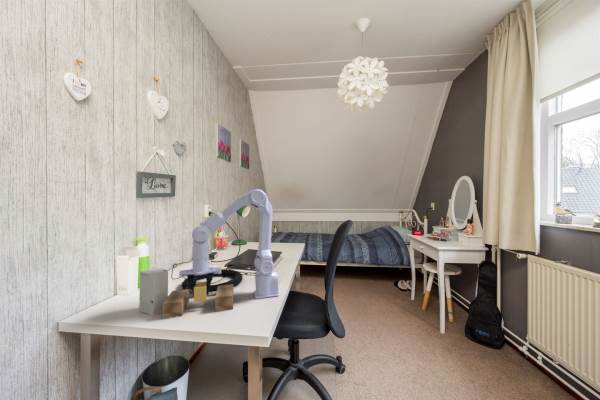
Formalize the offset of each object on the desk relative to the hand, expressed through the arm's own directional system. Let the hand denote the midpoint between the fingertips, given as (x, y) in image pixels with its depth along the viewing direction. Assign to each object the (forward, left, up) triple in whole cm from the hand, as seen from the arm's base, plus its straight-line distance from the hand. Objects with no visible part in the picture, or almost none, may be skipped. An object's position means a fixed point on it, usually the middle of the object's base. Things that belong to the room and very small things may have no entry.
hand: (201, 294), depth 89 cm
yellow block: (0, 0, -2) cm, 2 cm away
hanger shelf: (0, 0, -5) cm, 5 cm away
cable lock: (-1, -24, -5) cm, 25 cm away
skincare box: (+16, -2, -5) cm, 17 cm away
